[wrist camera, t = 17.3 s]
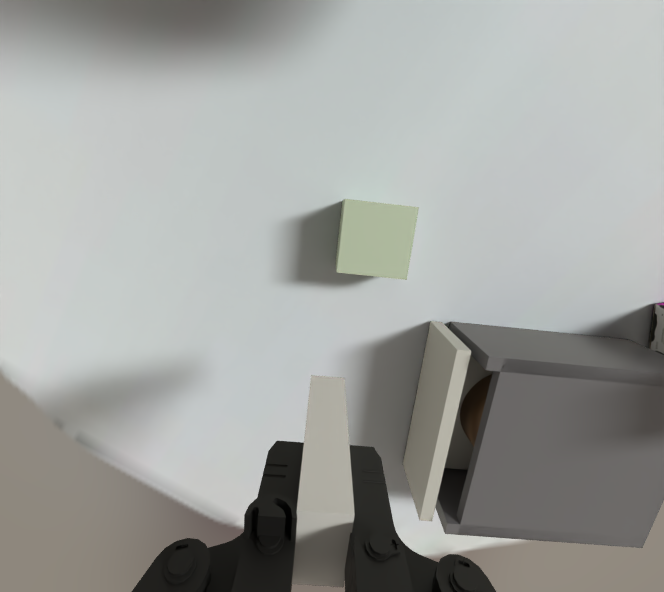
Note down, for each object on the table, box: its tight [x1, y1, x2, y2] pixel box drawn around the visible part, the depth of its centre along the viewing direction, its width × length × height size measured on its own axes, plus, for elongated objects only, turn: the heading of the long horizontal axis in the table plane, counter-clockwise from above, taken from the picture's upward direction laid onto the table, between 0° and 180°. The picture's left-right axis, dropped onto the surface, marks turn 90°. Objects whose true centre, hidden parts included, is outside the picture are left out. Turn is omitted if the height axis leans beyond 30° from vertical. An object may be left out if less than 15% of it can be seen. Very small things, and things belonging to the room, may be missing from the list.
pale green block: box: [335, 199, 419, 280], centre depth 25 cm, size 5×5×4 cm
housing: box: [435, 322, 664, 548], centre depth 27 cm, size 16×15×7 cm
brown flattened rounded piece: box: [460, 374, 492, 447], centre depth 27 cm, size 8×8×4 cm
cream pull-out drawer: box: [403, 321, 493, 521], centre depth 28 cm, size 16×15×6 cm
